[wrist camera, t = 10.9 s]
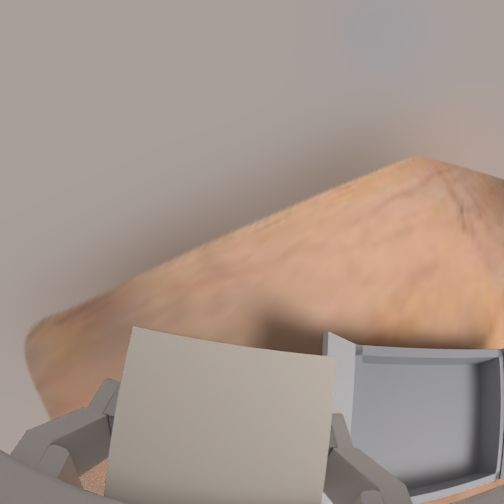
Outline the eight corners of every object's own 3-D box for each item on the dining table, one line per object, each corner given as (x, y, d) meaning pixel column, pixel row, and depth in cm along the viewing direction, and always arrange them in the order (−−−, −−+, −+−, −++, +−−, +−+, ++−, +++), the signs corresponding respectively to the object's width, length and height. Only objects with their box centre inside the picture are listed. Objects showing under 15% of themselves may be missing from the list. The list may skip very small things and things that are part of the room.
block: (271, 389, 15) (336, 357, 7) (260, 477, 12) (313, 543, 5) (177, 375, 15) (132, 326, 7) (163, 463, 12) (102, 514, 5)
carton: (499, 357, 27) (537, 340, 21) (495, 471, 20) (536, 470, 15) (302, 350, 26) (324, 331, 21) (284, 505, 19) (303, 528, 14)
